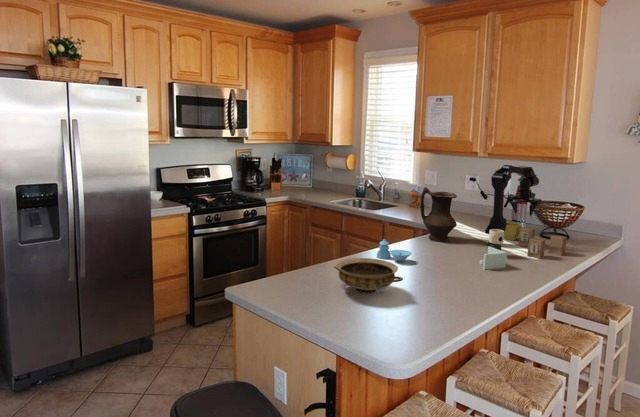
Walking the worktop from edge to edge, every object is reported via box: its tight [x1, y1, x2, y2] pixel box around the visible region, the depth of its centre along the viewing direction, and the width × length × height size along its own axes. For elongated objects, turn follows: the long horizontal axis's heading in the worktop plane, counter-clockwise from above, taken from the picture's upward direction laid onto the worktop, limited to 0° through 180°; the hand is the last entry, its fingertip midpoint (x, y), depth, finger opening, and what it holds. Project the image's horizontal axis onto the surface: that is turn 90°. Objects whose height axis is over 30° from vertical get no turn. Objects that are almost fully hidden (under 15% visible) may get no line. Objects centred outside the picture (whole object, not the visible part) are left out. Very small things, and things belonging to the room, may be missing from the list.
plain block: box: [548, 234, 568, 257], centre depth 255 cm, size 6×6×9 cm
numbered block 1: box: [518, 227, 537, 247], centre depth 273 cm, size 6×6×9 cm
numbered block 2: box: [527, 237, 547, 260], centre depth 247 cm, size 6×6×9 cm
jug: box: [419, 186, 458, 243], centre depth 277 cm, size 21×18×30 cm
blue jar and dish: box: [376, 238, 412, 263], centre depth 234 cm, size 18×10×9 cm, turn 49°
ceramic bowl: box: [333, 257, 404, 295], centre depth 190 cm, size 30×24×10 cm
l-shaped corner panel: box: [478, 246, 508, 270], centre depth 230 cm, size 12×12×8 cm
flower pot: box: [504, 221, 522, 241], centre depth 284 cm, size 9×9×9 cm
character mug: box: [488, 229, 505, 251], centre depth 247 cm, size 11×7×13 cm, turn 140°
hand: (523, 214), depth 283 cm, fingers open, 9 cm apart
